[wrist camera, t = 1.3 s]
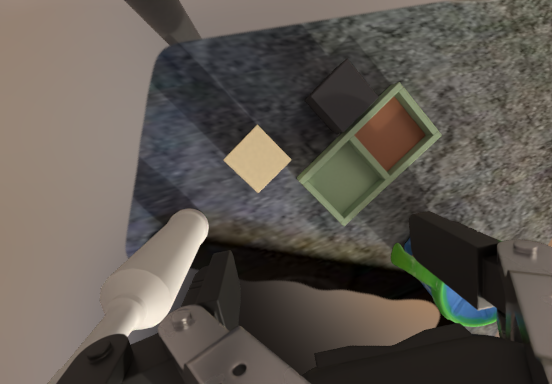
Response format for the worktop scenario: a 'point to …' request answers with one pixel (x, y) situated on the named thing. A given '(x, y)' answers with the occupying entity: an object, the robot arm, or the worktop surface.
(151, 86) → the worktop surface
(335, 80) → the dark gray block
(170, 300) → the bottle
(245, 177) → the foam pad
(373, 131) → the frame
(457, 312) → the snack cup
